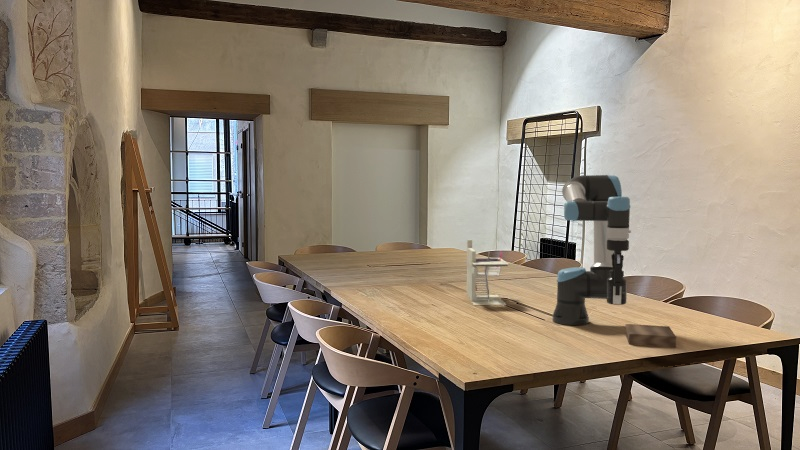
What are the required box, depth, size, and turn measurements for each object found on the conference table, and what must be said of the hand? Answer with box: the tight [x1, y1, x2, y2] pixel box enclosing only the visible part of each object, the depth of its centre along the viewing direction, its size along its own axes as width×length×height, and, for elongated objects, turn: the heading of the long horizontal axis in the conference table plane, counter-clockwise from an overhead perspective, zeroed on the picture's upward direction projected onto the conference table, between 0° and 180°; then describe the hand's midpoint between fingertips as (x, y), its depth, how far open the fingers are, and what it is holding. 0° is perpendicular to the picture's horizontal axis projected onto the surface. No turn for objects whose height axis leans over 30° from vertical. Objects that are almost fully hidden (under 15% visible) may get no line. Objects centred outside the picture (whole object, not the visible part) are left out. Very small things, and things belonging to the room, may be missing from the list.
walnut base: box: [624, 323, 677, 348], centre depth 225 cm, size 16×16×4 cm
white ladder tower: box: [466, 239, 510, 306], centre depth 303 cm, size 27×18×30 cm
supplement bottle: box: [606, 270, 628, 306], centre depth 214 cm, size 7×7×12 cm
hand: (616, 301), depth 215 cm, fingers closed on supplement bottle, 7 cm apart
